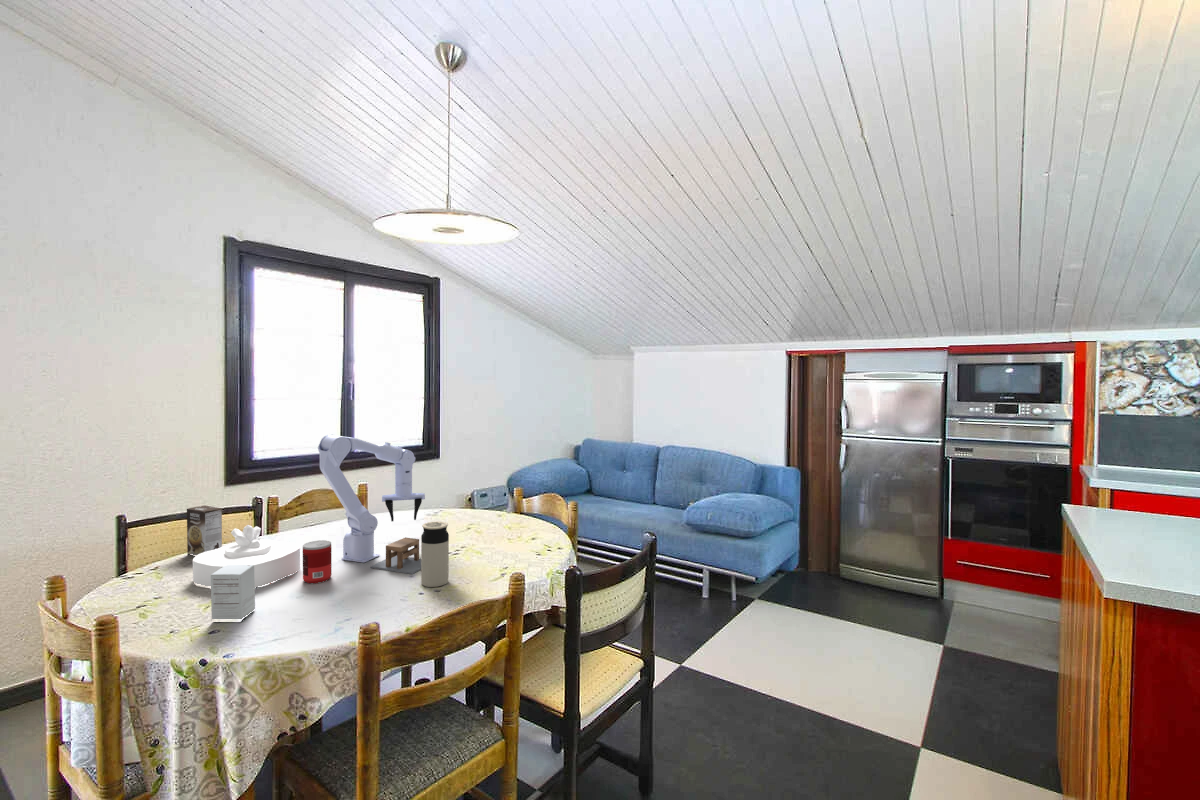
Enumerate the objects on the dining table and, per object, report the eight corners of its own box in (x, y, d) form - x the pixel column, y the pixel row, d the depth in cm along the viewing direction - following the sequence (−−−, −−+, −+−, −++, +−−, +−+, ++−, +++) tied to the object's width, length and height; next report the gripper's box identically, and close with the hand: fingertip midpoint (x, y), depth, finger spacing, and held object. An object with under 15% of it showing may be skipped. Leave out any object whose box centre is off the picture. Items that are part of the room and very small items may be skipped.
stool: (405, 557, 198) (405, 537, 198) (419, 559, 196) (419, 539, 196) (385, 566, 188) (385, 545, 188) (400, 569, 187) (400, 547, 186)
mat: (370, 567, 189) (370, 566, 189) (394, 556, 200) (394, 555, 200) (412, 574, 184) (412, 572, 184) (434, 562, 195) (434, 560, 195)
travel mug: (424, 589, 171) (424, 529, 171) (419, 580, 178) (419, 522, 178) (451, 585, 175) (451, 526, 174) (445, 576, 182) (445, 520, 181)
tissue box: (178, 584, 172) (177, 531, 171) (251, 559, 196) (250, 512, 195) (245, 595, 165) (245, 539, 164) (312, 567, 189) (311, 518, 188)
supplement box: (226, 611, 154) (226, 564, 153) (256, 611, 154) (255, 564, 154) (210, 623, 146) (209, 574, 146) (241, 623, 147) (240, 573, 146)
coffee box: (186, 555, 198) (185, 508, 197) (205, 550, 204) (204, 504, 203) (204, 559, 195) (203, 511, 194) (223, 553, 201) (222, 507, 200)
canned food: (337, 576, 181) (337, 541, 180) (316, 585, 173) (316, 549, 173) (317, 573, 183) (317, 538, 183) (296, 582, 176) (296, 546, 175)
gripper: (381, 485, 203) (381, 524, 203) (425, 483, 207) (425, 521, 208) (382, 481, 209) (382, 519, 210) (424, 480, 214) (424, 516, 215)
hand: (403, 520), depth 209 cm, fingers open, 7 cm apart
